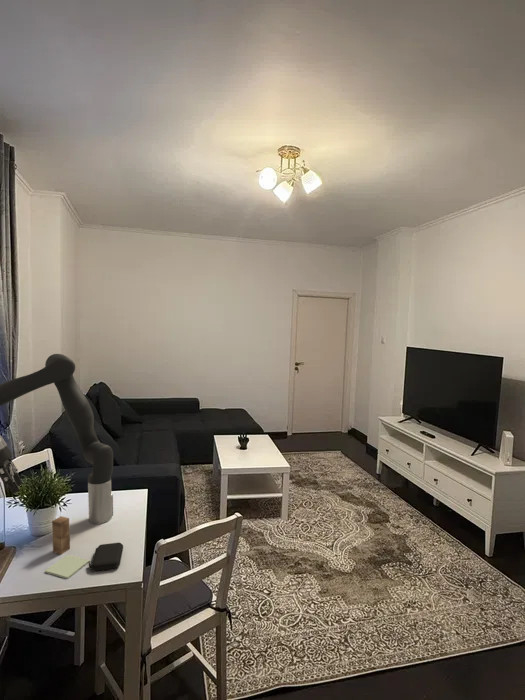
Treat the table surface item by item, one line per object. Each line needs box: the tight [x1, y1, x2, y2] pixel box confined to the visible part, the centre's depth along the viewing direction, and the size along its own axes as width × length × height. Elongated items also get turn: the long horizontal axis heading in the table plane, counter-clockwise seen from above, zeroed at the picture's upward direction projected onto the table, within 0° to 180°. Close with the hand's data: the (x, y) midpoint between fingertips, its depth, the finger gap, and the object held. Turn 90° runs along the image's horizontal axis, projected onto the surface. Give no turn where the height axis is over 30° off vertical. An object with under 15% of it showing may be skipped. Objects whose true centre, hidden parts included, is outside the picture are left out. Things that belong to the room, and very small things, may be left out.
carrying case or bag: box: [88, 542, 124, 573], centre depth 144 cm, size 11×3×15 cm
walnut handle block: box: [51, 515, 71, 555], centre depth 149 cm, size 4×4×12 cm
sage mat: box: [44, 554, 91, 580], centre depth 140 cm, size 10×10×1 cm
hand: (18, 488), depth 144 cm, fingers open, 8 cm apart
